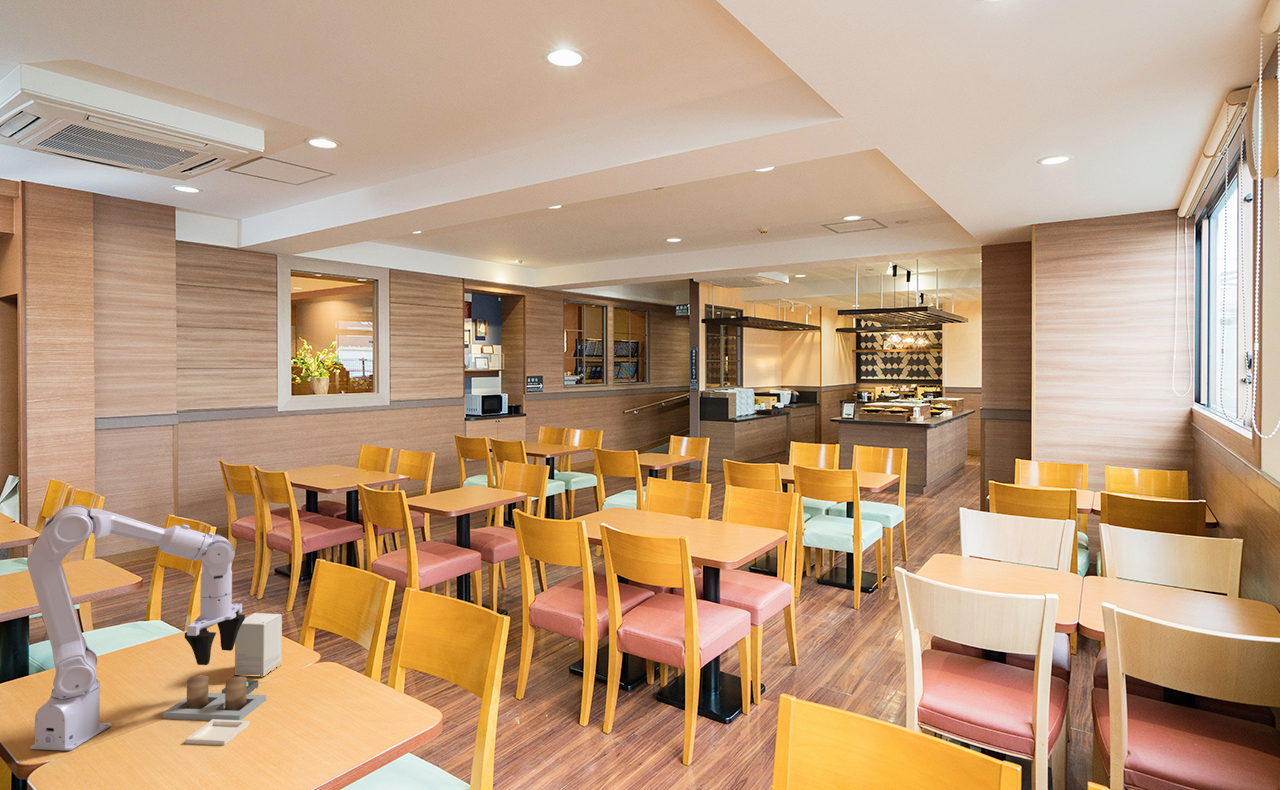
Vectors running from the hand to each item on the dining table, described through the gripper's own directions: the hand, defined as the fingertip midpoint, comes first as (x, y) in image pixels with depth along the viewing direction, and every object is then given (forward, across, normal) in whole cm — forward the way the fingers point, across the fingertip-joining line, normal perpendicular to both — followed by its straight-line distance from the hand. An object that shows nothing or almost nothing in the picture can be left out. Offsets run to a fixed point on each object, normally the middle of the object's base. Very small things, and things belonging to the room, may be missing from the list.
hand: (215, 656), depth 144 cm
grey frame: (+10, -3, -3) cm, 11 cm away
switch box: (+10, +5, -3) cm, 11 cm away
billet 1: (+10, -4, +1) cm, 11 cm away
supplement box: (+10, +16, +1) cm, 19 cm away
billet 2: (+10, -3, -7) cm, 12 cm away
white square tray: (+10, -13, -10) cm, 19 cm away
